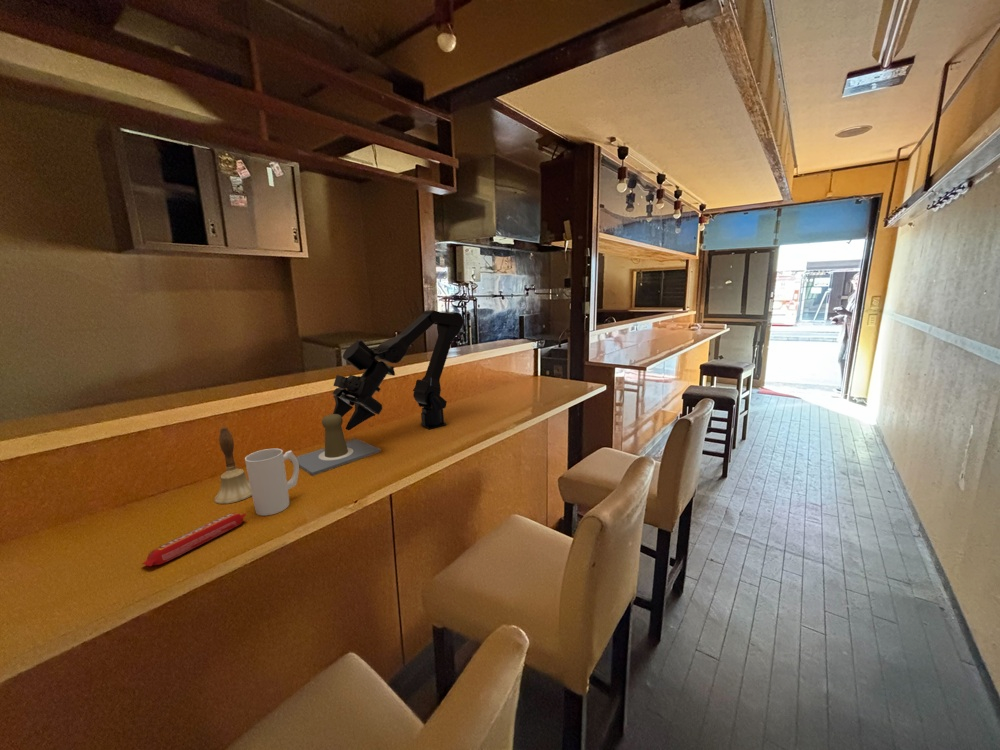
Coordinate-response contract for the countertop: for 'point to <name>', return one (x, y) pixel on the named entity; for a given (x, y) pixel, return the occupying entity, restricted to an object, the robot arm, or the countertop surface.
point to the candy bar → (193, 539)
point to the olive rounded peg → (334, 436)
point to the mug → (270, 479)
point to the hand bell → (231, 474)
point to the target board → (320, 463)
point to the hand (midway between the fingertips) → (339, 426)
